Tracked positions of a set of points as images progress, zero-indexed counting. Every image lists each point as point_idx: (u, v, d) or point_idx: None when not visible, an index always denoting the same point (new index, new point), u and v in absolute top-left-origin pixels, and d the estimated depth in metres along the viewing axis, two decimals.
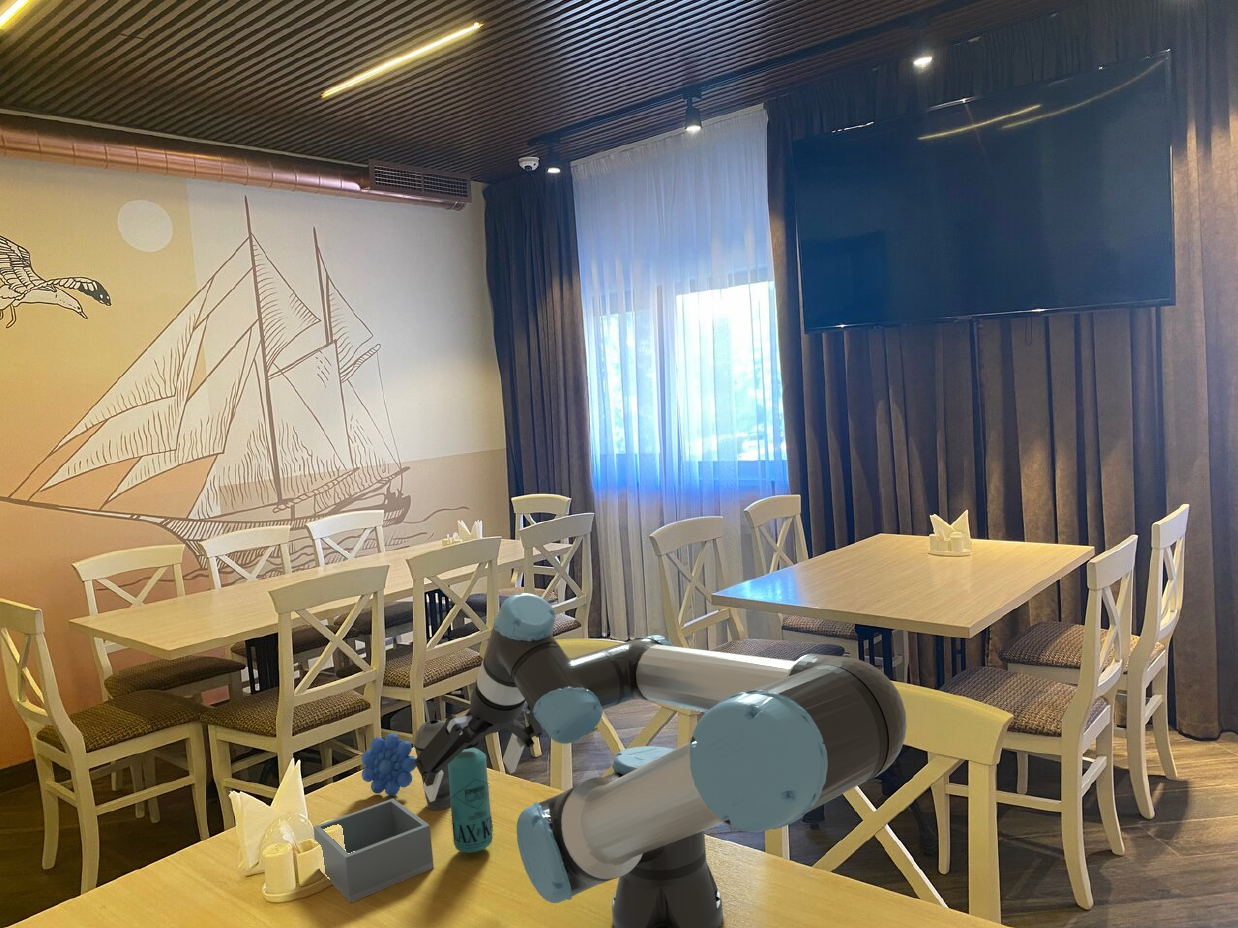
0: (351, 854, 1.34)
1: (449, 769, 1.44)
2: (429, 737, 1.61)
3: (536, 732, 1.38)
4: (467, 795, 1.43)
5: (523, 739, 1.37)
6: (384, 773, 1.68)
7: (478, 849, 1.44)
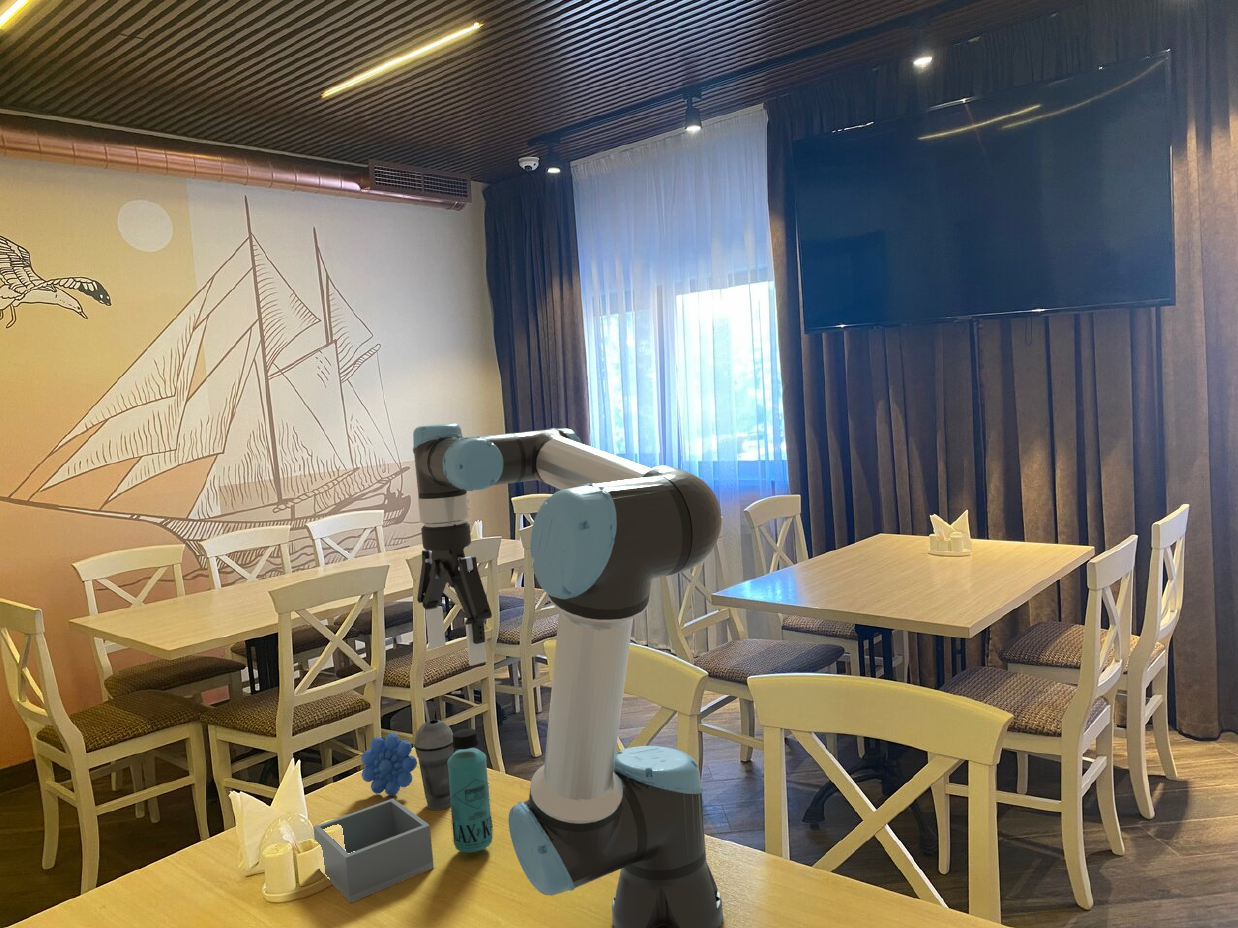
0: (351, 854, 1.34)
1: (449, 769, 1.44)
2: (429, 737, 1.61)
3: (472, 610, 1.36)
4: (467, 795, 1.43)
5: (465, 613, 1.37)
6: (384, 773, 1.68)
7: (478, 849, 1.44)
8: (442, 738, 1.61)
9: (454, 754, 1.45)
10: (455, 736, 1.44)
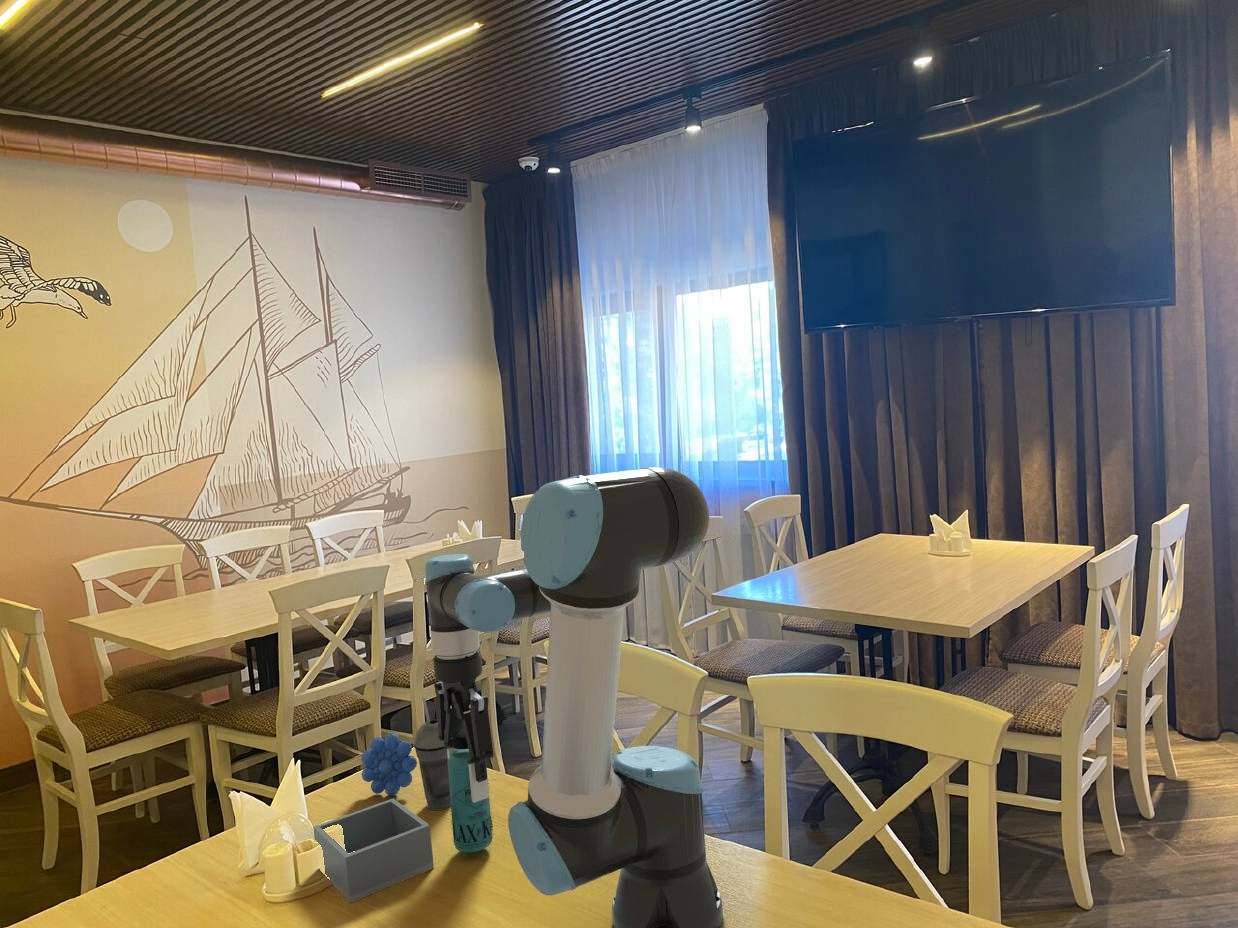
0: (351, 854, 1.34)
1: (449, 769, 1.44)
2: (429, 737, 1.61)
3: (476, 750, 1.40)
4: (467, 795, 1.43)
5: (469, 750, 1.41)
6: (384, 773, 1.68)
7: (478, 849, 1.44)
8: None
9: (454, 754, 1.45)
10: (455, 736, 1.44)
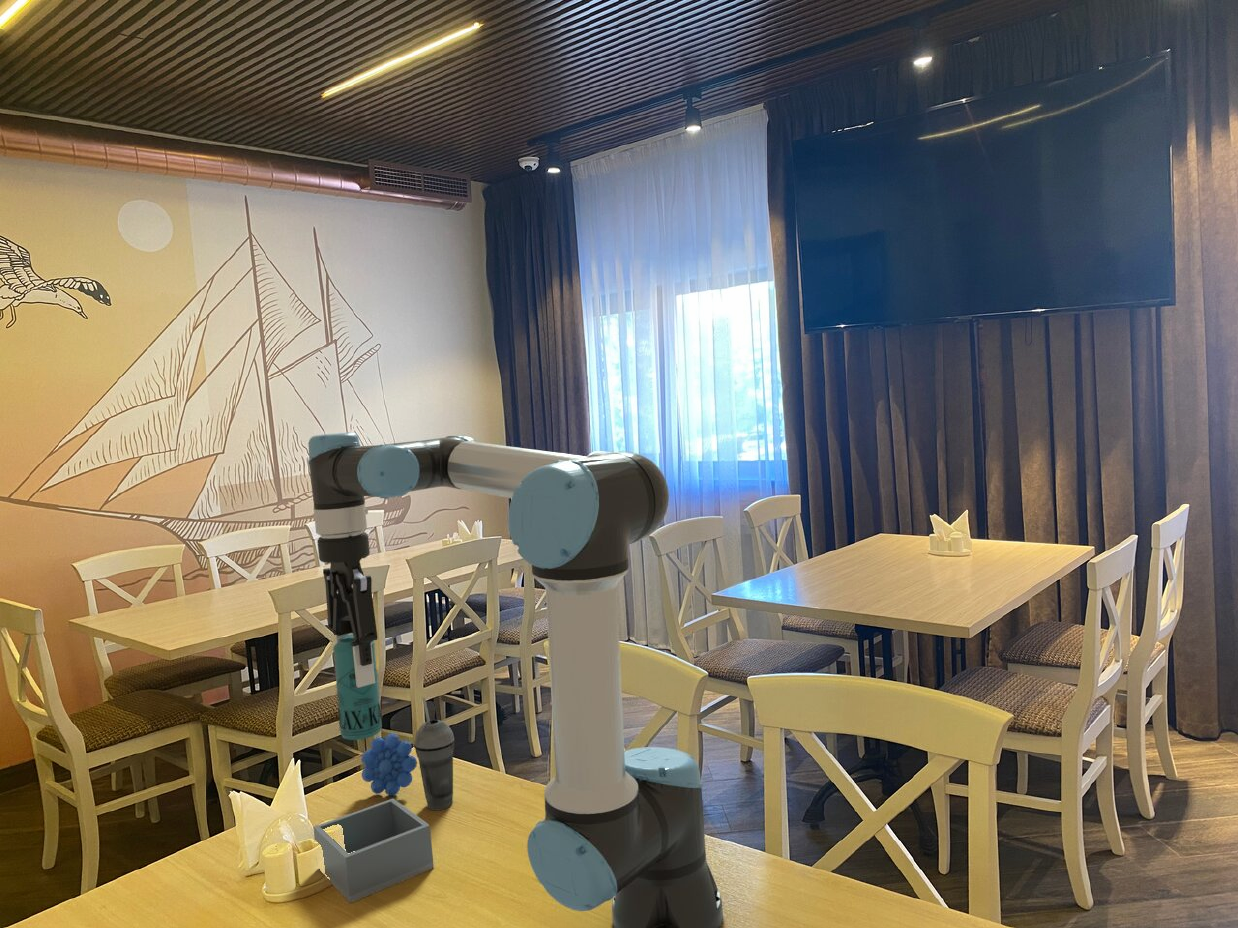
0: (351, 854, 1.34)
1: (334, 654, 1.39)
2: (429, 737, 1.61)
3: (358, 631, 1.35)
4: (352, 680, 1.38)
5: (353, 632, 1.37)
6: (384, 773, 1.68)
7: (364, 737, 1.39)
8: (442, 738, 1.61)
9: (340, 639, 1.40)
10: (341, 620, 1.39)
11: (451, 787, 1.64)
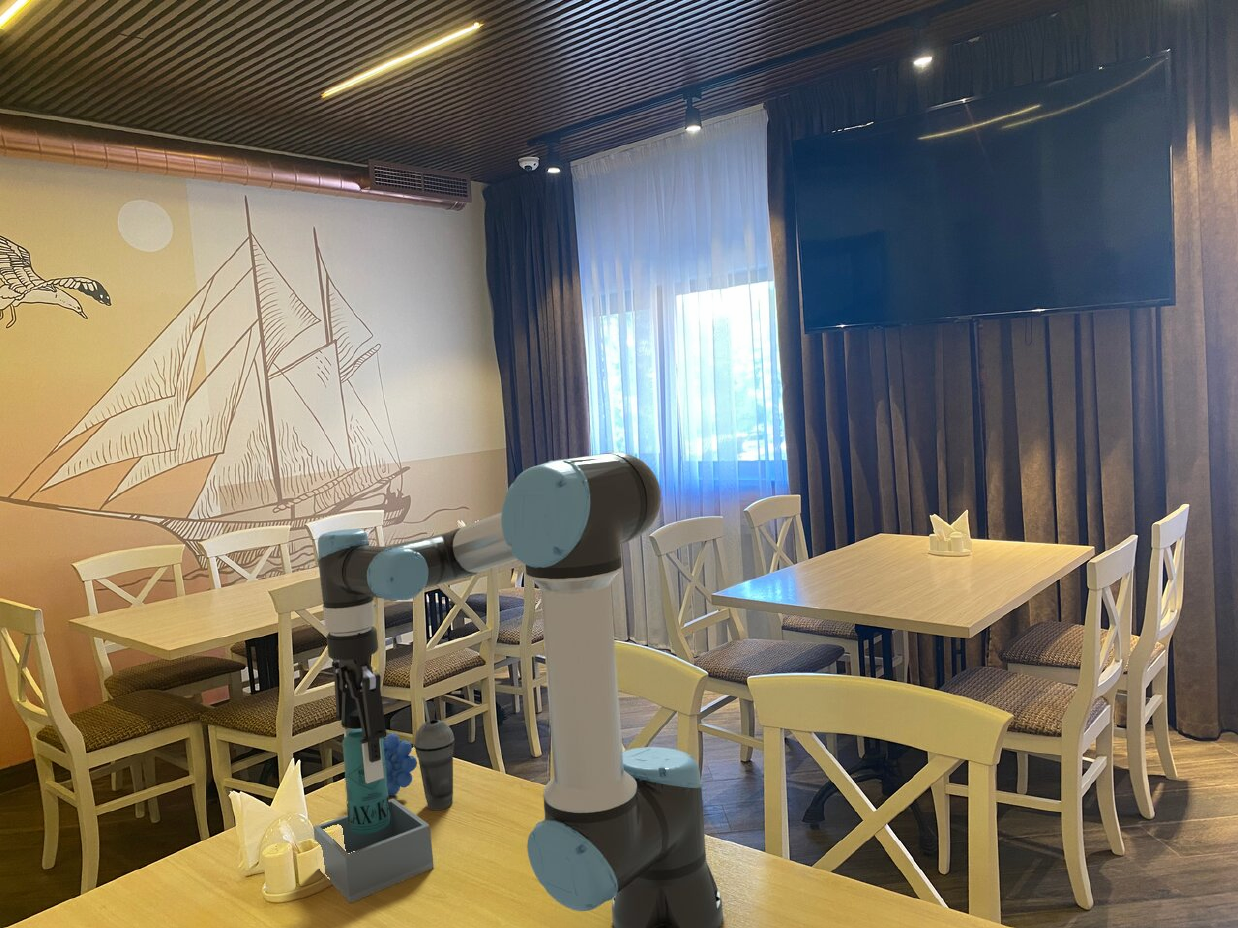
0: (351, 854, 1.34)
1: (343, 749, 1.40)
2: (429, 737, 1.61)
3: (367, 729, 1.36)
4: (361, 775, 1.39)
5: (362, 729, 1.38)
6: None
7: (373, 831, 1.40)
8: (442, 738, 1.61)
9: (349, 734, 1.41)
10: (349, 715, 1.40)
11: (451, 787, 1.64)
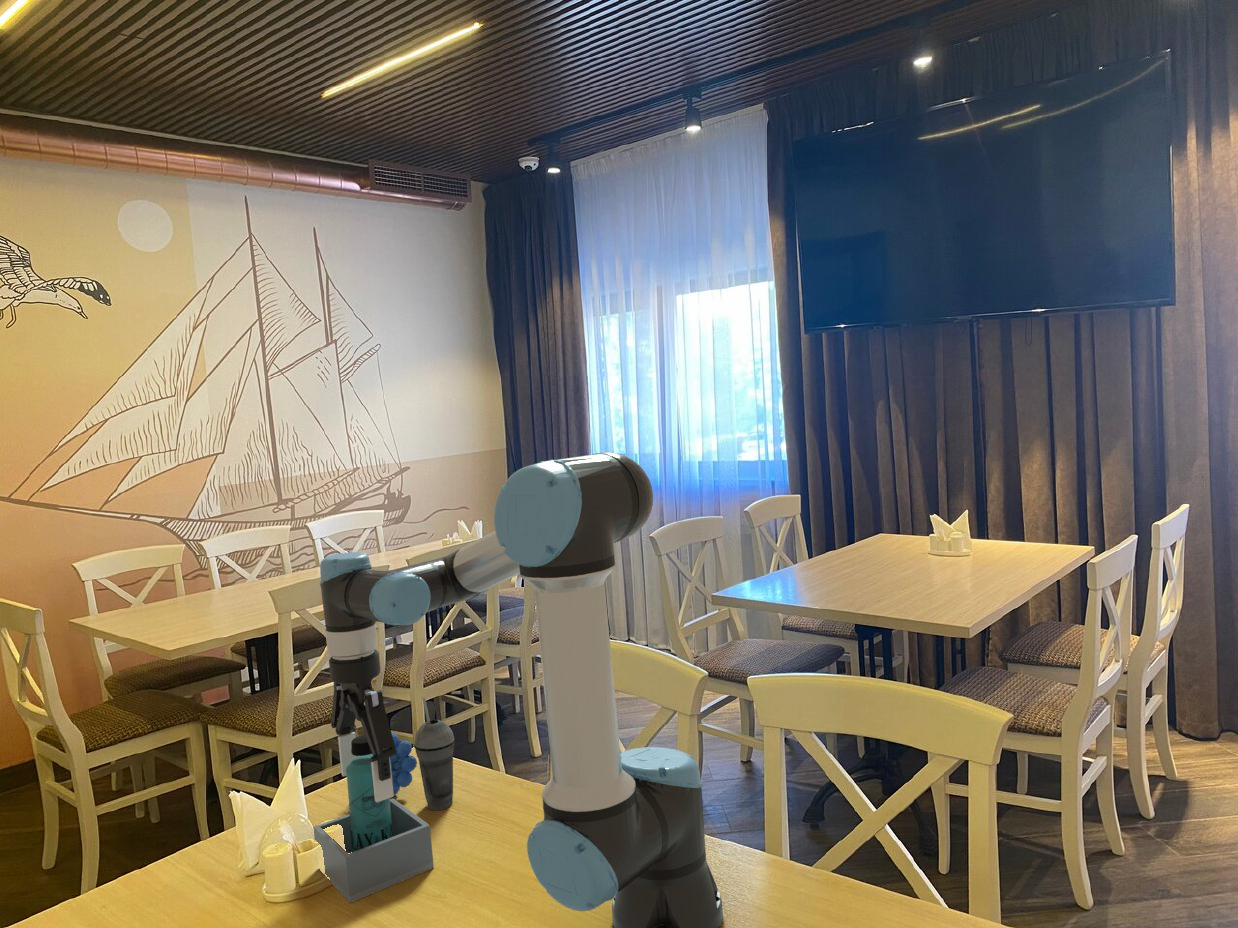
0: (351, 854, 1.34)
1: (347, 776, 1.41)
2: (429, 737, 1.61)
3: (376, 748, 1.34)
4: (365, 803, 1.40)
5: (371, 749, 1.36)
6: None
7: None
8: (442, 738, 1.61)
9: (353, 761, 1.42)
10: (353, 742, 1.41)
11: (451, 787, 1.64)
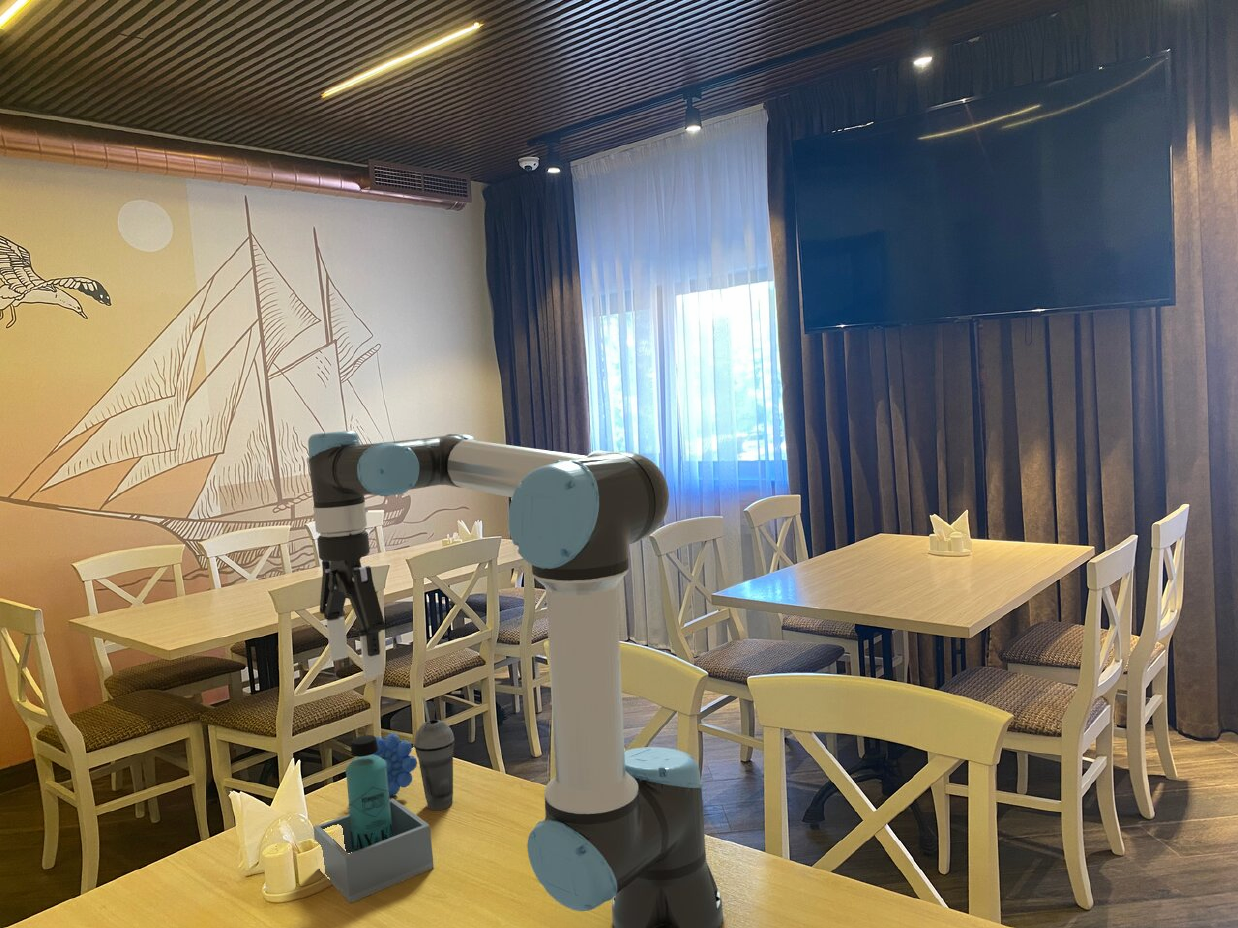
0: (351, 854, 1.34)
1: (347, 777, 1.41)
2: (429, 737, 1.61)
3: (365, 622, 1.33)
4: (364, 803, 1.39)
5: (360, 624, 1.34)
6: None
7: None
8: (442, 738, 1.61)
9: (353, 761, 1.42)
10: (353, 743, 1.41)
11: (451, 787, 1.64)
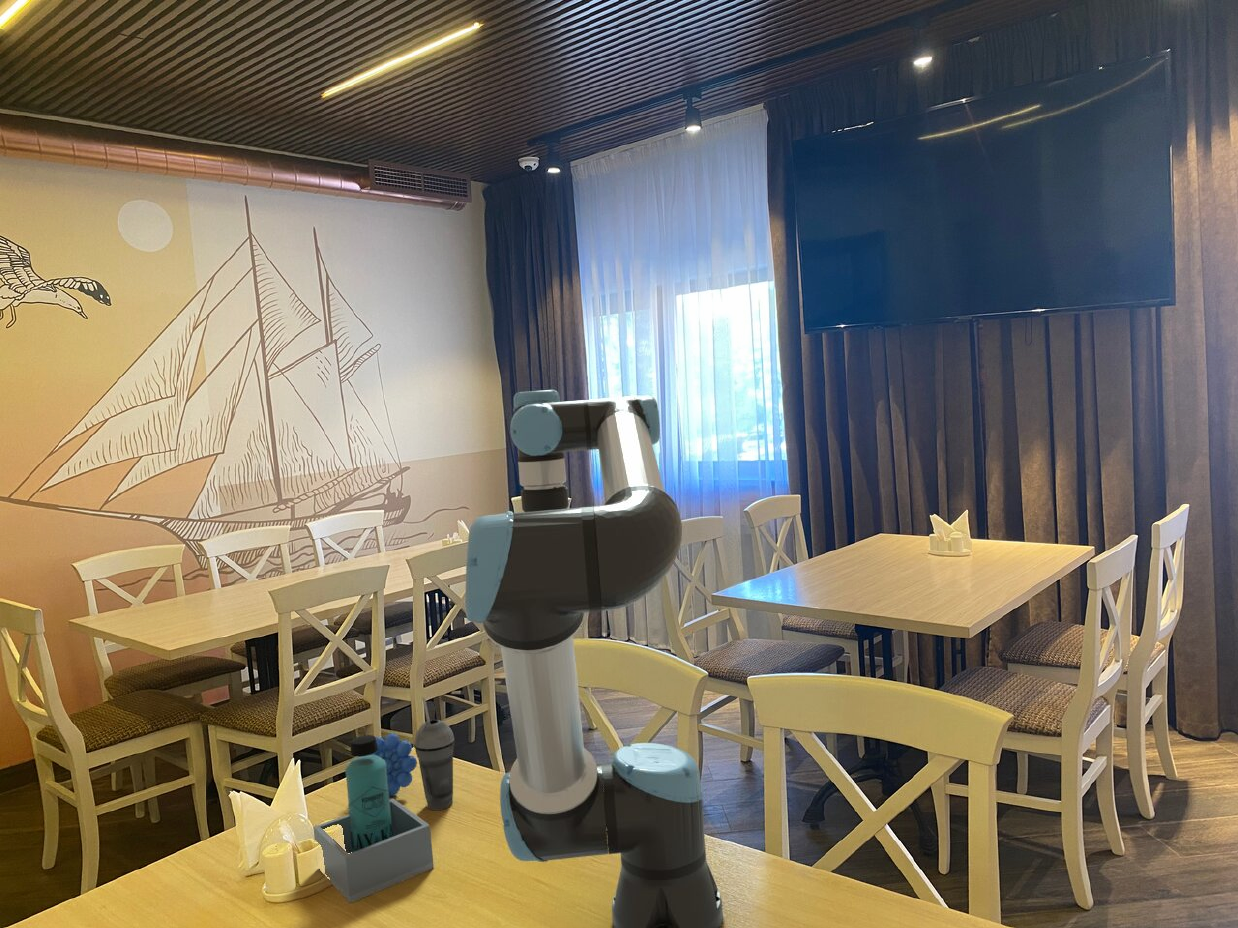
0: (351, 854, 1.34)
1: (347, 777, 1.41)
2: (429, 737, 1.61)
3: None
4: (364, 803, 1.39)
5: None
6: None
7: None
8: (442, 738, 1.61)
9: (352, 761, 1.42)
10: (352, 743, 1.41)
11: (451, 787, 1.64)
